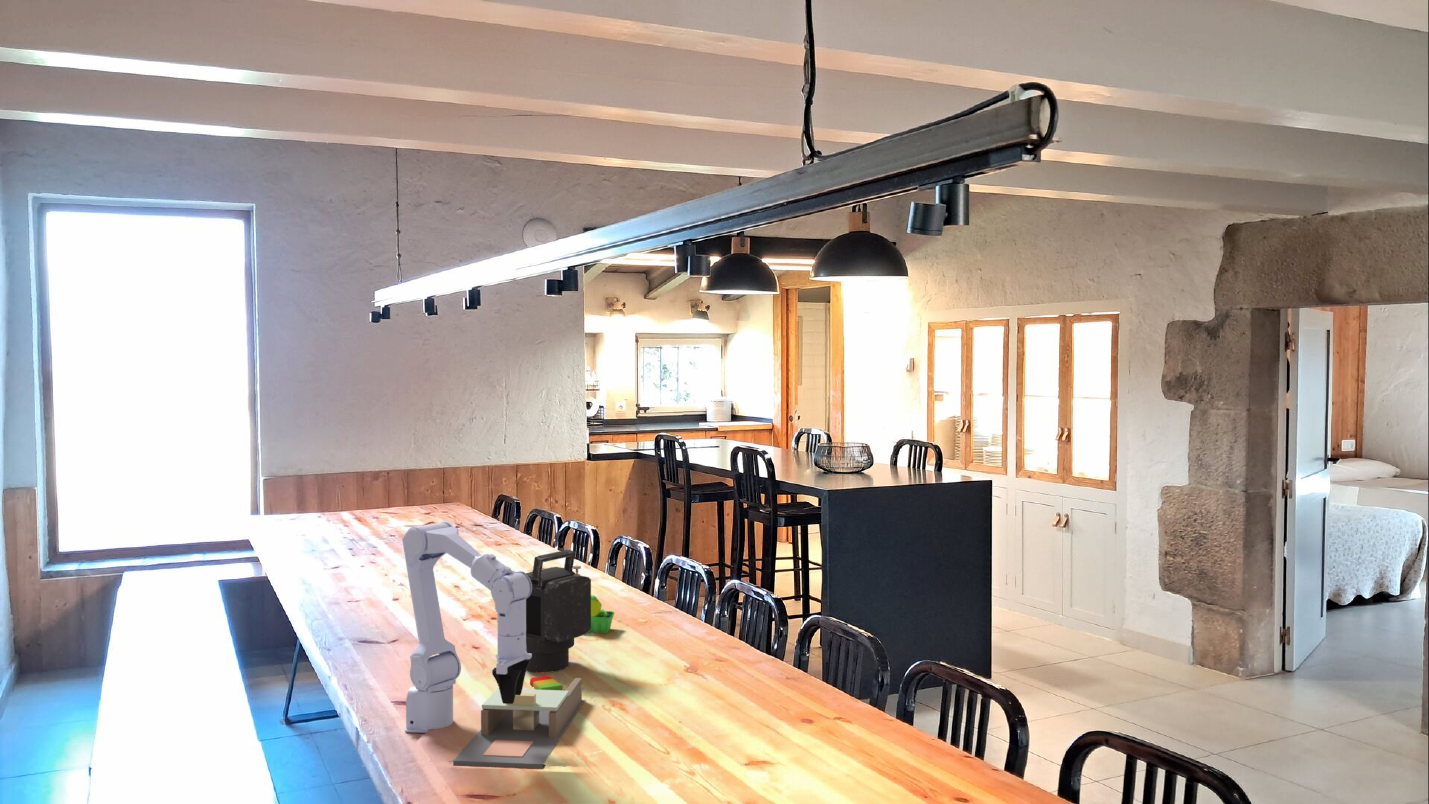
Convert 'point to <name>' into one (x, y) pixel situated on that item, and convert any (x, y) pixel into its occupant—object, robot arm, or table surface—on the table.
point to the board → (520, 736)
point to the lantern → (556, 612)
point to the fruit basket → (599, 617)
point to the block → (525, 719)
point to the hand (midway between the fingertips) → (512, 698)
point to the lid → (529, 700)
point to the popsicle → (545, 683)
